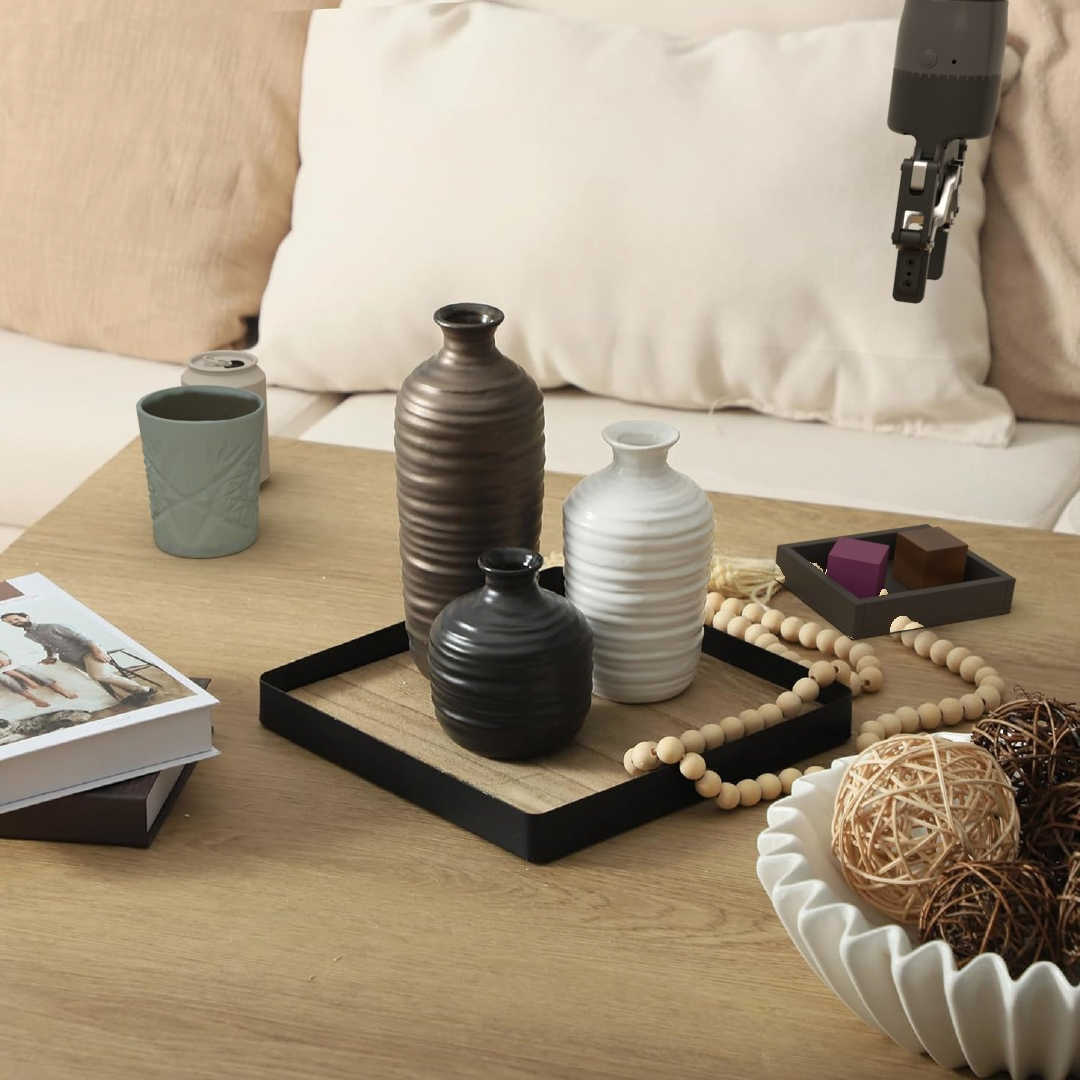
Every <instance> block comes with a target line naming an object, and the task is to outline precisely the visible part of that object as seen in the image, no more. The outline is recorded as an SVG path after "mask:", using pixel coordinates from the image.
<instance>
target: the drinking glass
mask: <svg viewBox="0 0 1080 1080" xmlns="http://www.w3.org/2000/svg"><path fill="white" fill-rule="evenodd" d="M135 409H136V410H135V411H136V415H137V422H138V429H139V434H140V439H141V443H142V445H141V451H142V454H143V456H144V458H143V464H144V465H145V469H144V471H145V475H146V476H145V477H146V480H147V488H148V489H147V490H148V491H149V496H148V498H149V509H150V516H151V517H150V518H151V519H152V533H153V540H154V543H155V546H156V547H157V548H158V549H159V550H161V551H162V552H164V553H166V554H169V555H171V556H174V557H181V558H186V559H211V558H220V557H225V556H230V555H233V554H237V553H239V552H241V551H244V550H246V549H248V548H249V547H251V546H252V545H254V543H255V542H256V540H257V538H258V535H259V534H258V533H259V514H260V506H259V500H260V488H261V485H260V477H261V473H260V469H259V467H260V458H261V453H262V439H263V437H262V432H263V425H264V412H265V403H264V401H263V399H262V398H261V397H260V396H259V395H257V394H255V393H253V392H251V391H247V390H244V389H239V388H235V387H227V386H217V385H190V386H181V385H179V386H172V387H168V388H162V389H159V390H156V391H152V392H150V393H147V394H145V395H143V396H142V397H140V399H138V401H136V405H135Z"/></svg>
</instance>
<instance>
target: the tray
mask: <svg viewBox="0 0 1080 1080" xmlns="http://www.w3.org/2000/svg"><path fill="white" fill-rule="evenodd" d="M931 527H933V526H932V525H931V524H928V523H924V524H918V525H910V526H903V527H896V528H888V529H883V530H881V529H880V530H874V531H867V532H861V533H853V534H849V535H848V534H847V535H846V534H845V535H839V536H831V537H825V538H817V539H812V540H804V541H803V540H802V541H796V542H789V543H782V544H777V545H776V555H775V561H774V562H775V563H776V564H777V565H778V566H779V567H780V569H781V571H782V573H783V575H784V576H785V582H784V583H783V584H781V586H782V587H784V588H785V589H787V591H789V592H790V593H791V594H793V595H794V596H795V597H797V598H798V600H800V601H802V602H803V603H804V604H805V605H807V606H808V607H809V608H811V609H812V610H813V611H814V612H816V613H817V614H818V615H819V616H821V617H822V618H823V619H825V620H826V621H827V623H830V624H831V625H832V626H833V627H835V628H836V629H837V630H839V631H840V632H841V633H842V634H843V635H845V636H846V635H847V636H849V637H852V638H853V639H854V640H861V639H865V638H866V639H867V638H873V637H878V636H883V635H889V634H891V633H890V627H891V624H892V622H893V621H894V619H896V618H897V617H899V616H907V617H908V618H909V619H910V620H911V621H914V622H918V623H919V624H921V625H923V626H924V628H930V627H938V626H942V625H948V624H955V623H960V622H966V621H973V620H977V619H984V618H989V617H996V616H1001V615H1006V614H1011V611H1012V603H1013V598H1014V593H1015V589H1016V588H1015V587H1016V582H1017V579H1016V578H1015V577H1014V576H1012V575H1011V574H1009V573H1007V572H1006V571H1004V570H1003V569H1001V568H999V567H998V566H996V565H994V563H992V562H990V561H988V560H986V559H985V558H984V557H981V556H980V555H978V554H977V553H975V552H974V551H972V550H971V549H969V548H968V552H967V558H966V565H965V571H964V577H963V582H962V583H956V584H950V585H943V586H937V587H931V588H925V589H918V590H912V591H911V590H909V589H908V588H906V587H905V586H904V585H902V584H901V583H899V582H898V581H896V580H895V579H893V578H892V577H891V576H892V568H893V561H894V554H895V547H896V539H897V533H898V532H903V531H910V530H917V529H924V528H931ZM839 537H845V538H850V539H856V540H861V541H867V542H872V543H878V544H883V545H889V546H890V548H889V555H888V563H887V570H886V577H885V585H884V589H886V590H887V592H888V594H887V595H881V596H874V597H868V598H862V599H859V598H858V597H856V596H855V595H853V594H852V593H851V592H849V591H848V590H847V589H845V588H844V587H843V586H841V585H840V584H839V583H837V582H836V581H835V580H833V579H832V578H831V577H829V576H828V575H827V574H825V572H826V569H827V564H828V555H829V553H830V552H831V550H832V549H833V547H834V545H835V544H836V542H837V540H838V539H839ZM810 562H811V563H810ZM812 563H817V565H818V566H820V568H822V569H823V572H822V571H821V570H820V569H818V568H817V567H816V566H814V565H813V564H812ZM924 628H923V629H924ZM847 636H846V637H847ZM849 637H848V638H849ZM854 640H853V641H854Z"/></svg>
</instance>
